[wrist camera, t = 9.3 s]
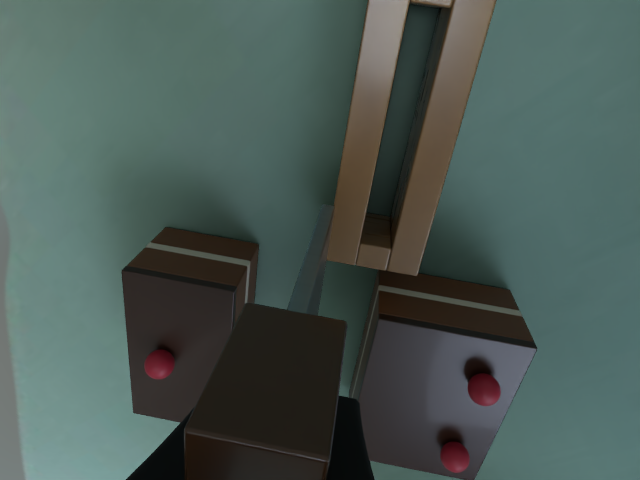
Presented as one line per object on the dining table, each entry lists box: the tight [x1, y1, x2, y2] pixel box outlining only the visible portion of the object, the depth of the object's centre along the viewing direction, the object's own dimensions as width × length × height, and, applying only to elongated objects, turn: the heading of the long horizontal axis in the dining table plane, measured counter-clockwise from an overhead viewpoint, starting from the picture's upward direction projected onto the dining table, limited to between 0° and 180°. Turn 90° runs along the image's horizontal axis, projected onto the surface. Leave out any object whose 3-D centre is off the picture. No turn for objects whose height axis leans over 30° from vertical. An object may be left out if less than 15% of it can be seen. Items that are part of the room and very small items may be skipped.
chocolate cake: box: [349, 269, 537, 480], centre depth 20 cm, size 6×8×5 cm
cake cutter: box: [184, 204, 347, 480], centre depth 11 cm, size 2×7×8 cm, turn 172°
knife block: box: [327, 0, 497, 276], centre depth 16 cm, size 4×10×3 cm, turn 172°
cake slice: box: [122, 227, 259, 423], centre depth 20 cm, size 4×8×5 cm, turn 172°
